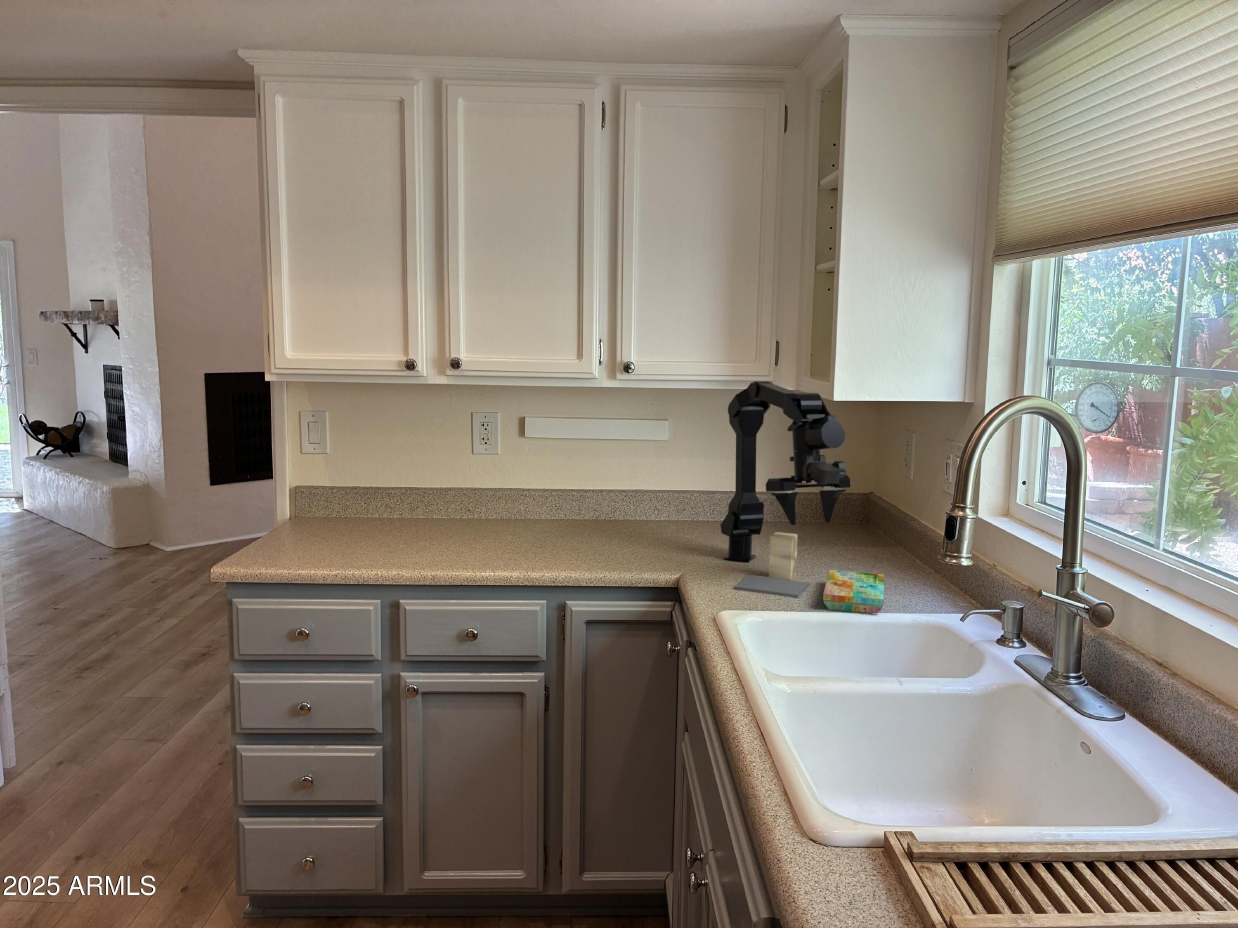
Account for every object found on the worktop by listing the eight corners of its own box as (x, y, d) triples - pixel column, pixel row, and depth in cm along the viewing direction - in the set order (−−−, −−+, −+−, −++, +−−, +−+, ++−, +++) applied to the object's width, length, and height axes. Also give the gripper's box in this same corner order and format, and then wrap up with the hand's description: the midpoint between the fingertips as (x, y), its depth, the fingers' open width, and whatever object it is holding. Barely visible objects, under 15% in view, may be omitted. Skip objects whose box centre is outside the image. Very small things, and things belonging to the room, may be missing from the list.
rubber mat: (748, 577, 211) (748, 574, 211) (809, 585, 206) (809, 582, 205) (734, 589, 201) (734, 586, 201) (798, 597, 196) (798, 594, 195)
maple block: (774, 574, 214) (776, 531, 213) (795, 576, 212) (797, 534, 211) (768, 579, 210) (770, 536, 208) (790, 582, 208) (792, 538, 206)
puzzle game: (823, 589, 186) (829, 565, 205) (822, 611, 187) (828, 586, 206) (883, 595, 183) (884, 570, 202) (882, 617, 184) (883, 591, 203)
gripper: (794, 450, 188) (798, 527, 187) (866, 447, 196) (870, 521, 195) (762, 453, 198) (766, 526, 197) (832, 450, 206) (835, 520, 205)
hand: (810, 523), depth 198 cm, fingers open, 9 cm apart
